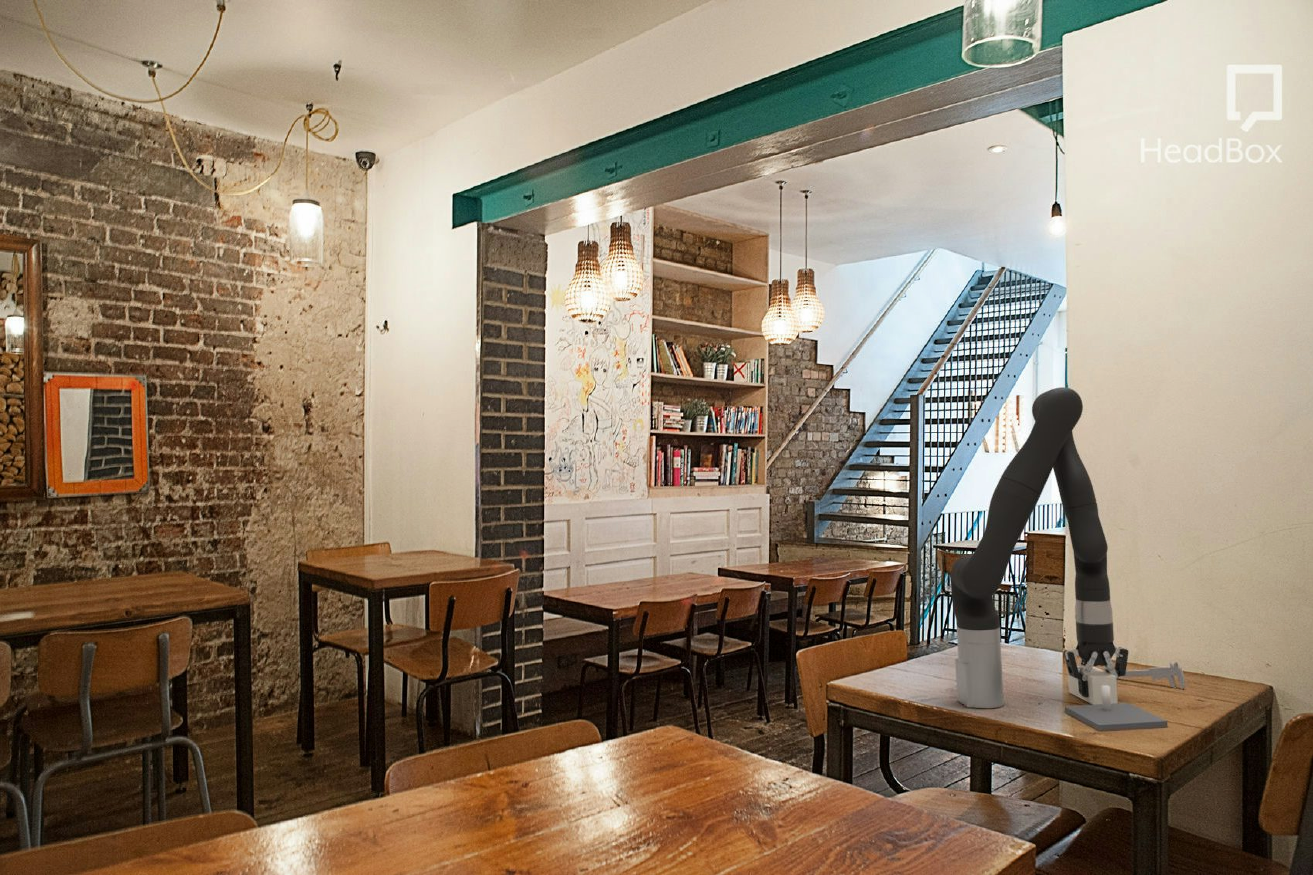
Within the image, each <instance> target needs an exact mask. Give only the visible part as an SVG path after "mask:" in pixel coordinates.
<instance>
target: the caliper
mask: <svg viewBox="0 0 1313 875" xmlns="http://www.w3.org/2000/svg"><path fill="white" fill-rule="evenodd" d="M1174 676H1176V677H1177V681H1178V684H1179V687H1180V689H1181V690H1183V689H1185V688H1186V683H1185V682H1186V681H1185V674H1184V671H1183V668H1182V666H1179V663H1178V662H1177V661H1176V662H1174V663H1173V661H1172V662H1169V666H1163V667H1162V666H1158V667H1150V668H1148V669H1137V670H1136V669H1135V670H1134V669H1130V670H1126V674H1125V676H1120V677H1118V678H1140V677H1141V678H1143V677H1144V678H1146V677H1147V678H1148V677H1151V680H1153V681H1155V680H1159V681H1160V680H1162V679H1165V678H1166V679H1167V682H1168V683H1169V685H1170V686H1171V688H1172V687H1177V683H1176V680H1175V677H1174ZM1118 678H1117V679H1118Z"/></svg>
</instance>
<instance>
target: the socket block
mask: <svg viewBox="0 0 1313 875" xmlns="http://www.w3.org/2000/svg"><path fill="white" fill-rule="evenodd" d="M1077 668H1078V670H1079V665H1077ZM1067 679H1068V681H1067V683H1068V693H1070V694H1072V695H1073V696H1075V697H1078V698H1079V699H1081V700H1083V701H1085V702H1087V703H1089V704H1090V705H1097V704H1102V687H1101V686H1102V685H1108V686H1110V697H1111V704H1114V703H1119V702H1118V701H1119V700H1118V680H1117V681H1116V676H1115V675H1112V674H1110V673H1108V672H1105V670H1104V669H1101V668H1098V667H1097V666H1094V667H1093V668H1092V671H1091V672H1090V673H1089V676H1088V679H1087V681H1088V690H1089V697H1087V698H1085V697H1083V696H1082V695H1081V694H1080V693H1079V688H1078V679H1077V678H1074V677H1072V676H1070V675H1069V673H1068V672H1067Z"/></svg>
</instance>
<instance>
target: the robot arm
mask: <svg viewBox="0 0 1313 875" xmlns="http://www.w3.org/2000/svg"><path fill="white" fill-rule="evenodd" d="M1032 403H1033V404H1032V406H1031V414H1032V417H1033V420H1034V424H1033V426H1032V429H1031V432H1030V433H1029V435H1028V437H1027V439H1026V441H1025V443H1024V444H1023V445H1022V447H1021V448H1020V449H1019V450H1018V451H1017V453H1016V454H1015V456H1014V457H1013V458H1012V459H1011V461H1010V462H1009V463H1008V465H1007V466H1006V468H1005V469H1004V471H1003V473H1002V474H1001V476H1000V478H999V480H998V482H997V485H996V487H995V489H994V491H993V493H992V495H991V499H990V502H989V506H988V513H987V518H986V525H985V528H984V532H983V534H982V537H981V539H980V541H979V543H978V544H977V547H976V549H975V550H974V551H973V553H972V554H964V555H961V556H960V557H959V558H957V559H956V560H955V561H954V563H953V564H952V567H951V570H950V588H951V589H950V590H951V599H952V600H951V602H952V608H953V614H954V617H955V622H956V638H957V639H956V640H957V653H958V654H957V657H958V658H955V659H954V660H955V661H954V662H955V675H956V676H955V677H956V678H955V680H956V694H957V695H956V697H957V702H959V703H960V704H962V705H963V704H964V706H965V707H966V708H977V709H993V708H1001V707H1002V706H1004V705H1005V698H1004V697H1005V693H1004V680H1003V679H1004V677H1003V664H1002V663H1003V660H1002V659H1003V658H1002V646H1001V645H1002V644H1001V643H1002V642H1001V624H1000V616H999V613H998V611H997V610H996V606H995V603H994V598H993V597H994V594H996V593H997V592H998V590H999V589H1000V587H1001V585H1002V582H1003V580H1004V577H1005V574H1006V571H1007V569H1008V566H1009V563H1010V560H1011V557H1012V554H1013V552H1014V550H1015V547H1016V545H1017V544H1018V541H1019V539H1020V537H1021V535H1022V533H1023V532H1024V529H1025V528H1026V526H1027V523H1028V521H1029V519H1030V517H1031V515H1032V514H1033V512H1034V510H1035V508H1036V506H1037V504H1038V501H1039V500H1040V498H1041V496H1042V493H1043V491H1044V489H1045V486H1046V485H1047V484H1046V483H1047V482H1048V479H1049V478H1050V475H1051V473H1052V471H1053V473H1054V477H1055V480H1056V485H1057V488H1058V492H1059V493H1058V494H1059V497H1060V501H1061V505H1062V508H1063V513H1064V515H1065V518H1066V520H1067V527H1068V531H1069V537H1070V541H1071V546H1072V551H1073V560H1074V570H1075V576H1074V577H1075V578H1074V593H1075V594H1074V595H1075V605H1074V613H1075V614H1074V619H1075V630H1076V631H1075V633H1076V634H1075V636H1076V642H1077V643H1076V644H1077V645H1076V647H1075V649H1071V650H1067V649H1065V650H1063V656H1064V661H1065V664H1066V668H1067V674H1068V673H1069V675H1070V676H1072V677H1074V678H1077V679H1078V688H1079V693H1080V694H1081V695H1082V696H1083V697H1085V698H1087V697H1089V690H1088V681H1087V679H1088V676H1089V673H1090V672H1091V671H1092V668H1093V667H1097V666H1101V667H1102V669H1103V671H1105V672H1108V673H1110V674H1112V675H1115V676H1116V681H1117V682H1118V677H1119V678H1121V677H1120V676H1125V674H1126V671H1127V666H1128V665H1127V664H1128V661H1129V660H1128V658H1129V650H1128V649H1126V648H1124V647H1121V646H1119V647H1116V646H1115V644H1114V640H1115V634H1114V633H1115V632H1114V619H1113V617H1114V616H1113V607H1112V602H1111V590H1110V588H1111V587H1110V581H1109V576H1108V548H1109V547H1108V543H1107V540H1106V539H1107V538H1106V536H1105V532H1104V529H1103V526H1102V522H1101V520H1100V517H1099V508H1098V502H1097V498H1096V494H1095V490H1094V485H1093V483H1092V480H1091V478H1090V475H1089V474H1088V471H1087V469H1086V467H1085V464H1084V463H1083V461H1082V458H1081V457H1080V454H1079V451H1078V448H1077V447H1076V443H1075V440H1074V435H1073V430H1074V429H1075V427H1076V425H1077V424H1078V422H1079V420H1080V419H1081V417H1082V414H1083V410H1084V409H1083V408H1084V405H1083V400H1082V398H1081V396H1080V395H1079V393H1078V392H1077V391H1076V390H1074V389H1072V388H1070V387H1064V386H1063V387H1056V388H1052V389H1049V390H1047V391H1045V392H1043V393H1040V394H1039V395H1038V396H1037V397H1036V398H1035V399H1034V401H1033V402H1032ZM1114 655H1115V664H1114V663H1113V660H1112V658H1113V656H1114ZM1078 657H1079V658H1080V662H1079V664H1078V665H1077V659H1078ZM1077 666H1079V670H1078V668H1077Z"/></svg>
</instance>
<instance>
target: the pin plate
mask: <svg viewBox="0 0 1313 875" xmlns="http://www.w3.org/2000/svg"><path fill="white" fill-rule="evenodd" d="M1101 687H1102V704H1097V705H1093V704H1085V705H1084V704H1083V705H1068V706H1067V705H1065V706H1064V713H1066V714H1068V715H1069V716H1072V717H1073V718H1075V719H1076V720H1078V721H1080V722H1082V723H1084V724H1086V725H1087V726H1090V727H1091V728H1093V729H1095V730H1097V731H1098V732H1107V731H1109V732H1110V731H1125V730H1140V729H1141V730H1143V729H1157V728H1168V720H1166V719H1163V718H1162V717H1160V716H1157V715H1155V714H1153V713H1151V712H1149V711H1147V710H1144V709H1142V708H1140V707H1139V706H1136V705H1133V704H1132V703H1129V702H1118V703H1114V704H1111V697H1110V686H1108V685H1102V686H1101Z"/></svg>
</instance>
